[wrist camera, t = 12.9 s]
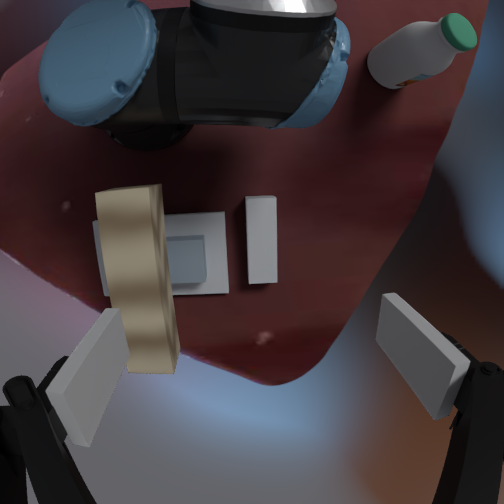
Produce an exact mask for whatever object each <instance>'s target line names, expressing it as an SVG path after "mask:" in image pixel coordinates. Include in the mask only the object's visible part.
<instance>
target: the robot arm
mask: <svg viewBox="0 0 504 504" xmlns="http://www.w3.org/2000/svg"><path fill="white" fill-rule="evenodd" d="M336 10H337V4H336V3H335V1H334V0H190V7H178V8H163V9H152V10H150V9H149V8H148V6H146V5H145V4H144V3H142V2H139V1H137V0H92V1H90V2H88V3H86V4H84V5H82V6H81V7H79V8H78V9H76V10H75V11H73V12H72V13H71V14H70V15H69V16H68V17H67V18H66V19H65V20H64V21H63V23H62V25H61V26H60V27H59V28H58V29H57V30H56V31H55V32H54V33H53V34H52V36H51V37H50V39H49V41H48V43H47V45H46V47H45V49H44V52H43V55H42V58H41V61H40V66H39V76H38V79H39V88H40V93H41V96H42V98H43V101H44V102H45V103H46V105H47V106H48V108H49V109H50V111H51V112H53V113H54V114H55V115H56V116H58V117H60V118H62V119H65V120H66V121H68V122H69V123H72V124H73V125H80V126H91V127H95V128H100V129H104V130H105V131H106V132H107V134H108V135H109V136H110V137H111V138H112V139H113V140H114V141H116V142H117V143H119V144H120V145H122V146H124V147H127V148H130V149H134V150H141V151H152V150H158V149H162V148H165V147H168V146H170V145H172V144H174V143H175V142H177V141H178V140H180V139H181V138H182V137H184V136H185V135H186V134H187V133H188V132H189V131H190V129H191V128H192V127H193V125H194V124H210V125H242V126H260V127H265V128H268V129H274V128H275V129H278V128H281V127H288V128H306V127H311V126H313V125H316V124H317V123H319V122H320V121H321V120H322V119H323V118H325V116H326V115H327V114H328V113H329V112H330V110H331V109H332V107H333V106H334V104H335V102H336V100H337V98H338V96H339V94H340V92H341V89H342V87H343V84H344V81H345V78H346V74H347V70H348V65H347V64H346V60H347V58H348V56H349V54H350V37H349V33H348V30H347V28H346V26H345V25H344V23H343V22H342V21H340V20H338V19H337V18H336V17H335V14H336ZM376 341H377V343H378V344H379V345H380V347H381V348H382V349H383V351H384V352H385V353H386V355H387V356H388V357H389V359H390V360H391V361H392V363H393V364H394V366H395V367H396V368H397V369H398V371H399V372H400V373H401V375H402V376H403V378H404V379H405V380H406V382H407V383H408V385H409V386H410V387H411V389H412V390H413V391H414V393H415V394H416V395H417V397H418V398H419V400H420V401H421V402H422V404H423V405H424V407H425V408H426V410H427V411H428V412H429V414H430V415H431V417H432V418H433V420H437V419H441V418H444V417H446V416H449V414H450V412H451V410H452V407H453V405H455V407H456V408H457V409H458V411H457V414H456V416H455V418H454V420H453V422H452V424H451V426H450V428H449V429H452V427H453V430H452V435H451V439H450V444H449V448H448V452H447V456H446V460H445V463H444V467H443V471H442V474H441V477H440V481H439V484H438V487H437V490H436V493H435V496H434V499H433V502H432V504H497V500H498V495H499V488H500V481H501V472H502V464H503V461H504V370H502V369H501V368H500V367H499V366H498V365H496V364H495V363H492V362H479V361H478V360H477V359H475V357H473V356H472V355H471V354H470V353H469V352H468V351H467V350H466V349H465V348H463V346H461V345H460V344H458V342H457V341H456V340H455V339H454V338H453V337H452V336H449V335H447V334H445V333H443V332H441V333H440V332H439V331H438V330H437V329H435V328H434V327H433V326H432V325H431V324H430V323H429V322H428V321H427V320H425V319H424V318H423V317H422V316H421V315H420V314H419V313H418V312H416V311H415V310H414V309H413V308H412V307H411V306H410V305H408V304H407V303H406V302H405V301H404V300H403V299H402V298H400V297H399V296H398V295H397V294H396V293H389V294H383V295H382V302H381V309H380V316H379V322H378V329H377V335H376ZM129 357H130V352H129V348H128V344H127V340H126V335H125V331H124V327H123V322H122V318H121V313H120V308H106V309H105V310H104V311H103V313H102V314H101V315H100V316H99V318H98V319H97V320H96V322H95V323H94V324H93V326H92V327H91V328H90V330H89V331H88V332H87V333H86V335H85V336H84V338H83V339H82V340H81V341H80V343H79V344H78V346H77V347H76V348H75V350H74V351H73V352H72V354H71V355H70V356H64V357H62V358H61V359H60V360H58V361H57V362H56V363H55V364H54V365H53V367H52V368H51V371H49V372H48V373H47V376H45V378H44V379H43V381H42V382H41V383H40V384H39V386H38V387H37V389H36V387H35V385H34V383H33V381H32V379H31V378H29V377H28V376H22V375H21V376H16V377H14V378H11V379H10V380H8V381H7V382H6V383H5V385H4V386H3V393H4V395H5V397H6V399H7V400H8V402H9V404H10V406H0V504H28V501H27V486H26V468H27V472H28V475H29V478H30V481H31V484H32V487H33V490H34V492H35V495H36V497H37V500H38V503H39V504H97V503H96V502H95V500H94V498H93V496H92V495H91V493H90V491H89V490H88V488H87V486H86V484H85V482H84V480H83V478H82V476H81V475H80V473H79V471H78V469H77V467H76V465H75V462H74V460H73V458H72V456H71V454H70V452H69V450H68V448H67V446H66V444H65V442H64V440H65V438H66V436H67V435H68V436H69V438H70V440H71V441H72V443H73V444H74V445H79V446H84V447H90V446H91V443H92V441H93V438H94V436H95V434H96V431H97V429H98V426H99V424H100V422H101V419H102V417H103V414H104V412H105V410H106V407H107V405H108V403H109V400H110V398H111V396H112V394H113V391H114V389H115V387H116V385H117V383H118V380H119V378H120V376H121V374H122V372H123V369H124V367H125V365H126V363H127V361H128V359H129Z"/></svg>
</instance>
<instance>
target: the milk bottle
mask: <svg viewBox="0 0 504 504" xmlns="http://www.w3.org/2000/svg"><path fill="white" fill-rule="evenodd" d="M476 44H477V37H476V33H475V31H474V29H473V27H472V25H471V24H470V23H469V22H468V20H466V19H465V18H464V17H463V16H461V15H459V14H457V13H451V14H448V15H446V16H445V17H443V18H441V19H440V20H439V22H423V21H422V22H415V23H411V24H409V25H407V26H405V27H403V28H401V29H400V30H398V31H397V32H395V33H394V34H392V35H391V36H389V37H388V38H386V39H385V40H384V41H382V42H381V43H379V44H378V45H377V46H375V47H374V48H373V49H372V50H371V51H370V52H369V54H368V58H367V64H368V69H369V71H370V74H371V75H372V77H373V78H374V79H375V80H376V81H377V82H378V83H379V84H381V85H382V86H384V87H387V88H390V89H398V88H401V87H404V86H407V85H410V84H412V83H415V82H418V81H421V80H423V79H426V78H429V77H431V76H434V75H436V74H438V73H440V72H442V71H443V70H445V69H446V68H447V67H448V66H449V65H450V63H451V62H452V60H453V58H454V56H455V55H456V54H457V53H458V52H459V53H462V52H465V51H468V50H471V49H473V48H474V47H475V46H476Z"/></svg>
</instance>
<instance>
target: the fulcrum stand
mask: <svg viewBox="0 0 504 504" xmlns="http://www.w3.org/2000/svg"><path fill="white" fill-rule="evenodd" d="M164 221H165V233H166V243H167V253H168V263H169V271H170V280H171V288H172V295H187V294H214V293H229V284H228V267H227V249H226V229H225V211H222V212H202V213H185V214H169V215H164ZM93 230H94V237H95V244H96V251H97V258H98V264H99V270H100V275H101V281H102V286H103V291H104V296H110V295H109V290H108V284H107V279H106V273H105V267H104V261H103V255H102V248H101V241H100V234H99V226H98V220H95V221H93Z"/></svg>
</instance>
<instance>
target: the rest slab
mask: <svg viewBox="0 0 504 504" xmlns="http://www.w3.org/2000/svg"><path fill="white" fill-rule="evenodd" d="M245 205H246V234H247V262H248V280H249V284H256V283H275V282H277V216H276V197H274V196H246V197H245Z"/></svg>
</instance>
